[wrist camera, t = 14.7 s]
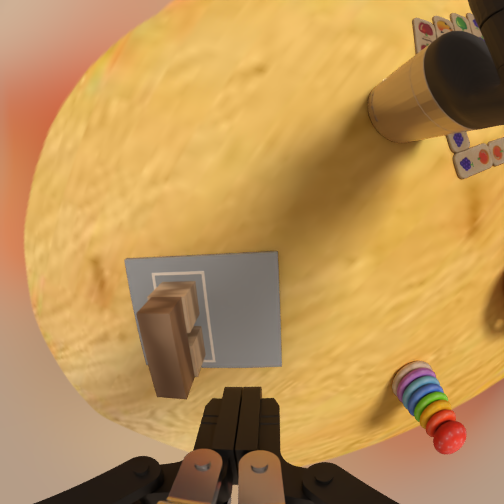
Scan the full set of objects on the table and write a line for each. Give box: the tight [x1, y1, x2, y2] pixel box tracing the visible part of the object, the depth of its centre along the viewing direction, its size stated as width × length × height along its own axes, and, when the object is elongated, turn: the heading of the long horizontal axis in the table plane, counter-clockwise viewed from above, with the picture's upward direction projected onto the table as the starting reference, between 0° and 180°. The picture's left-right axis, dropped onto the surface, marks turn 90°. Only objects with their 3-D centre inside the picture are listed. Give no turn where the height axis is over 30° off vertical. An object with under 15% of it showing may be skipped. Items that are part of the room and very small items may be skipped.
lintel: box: [136, 297, 195, 399], centre depth 36 cm, size 4×12×5 cm, turn 3°
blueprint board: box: [125, 251, 282, 368], centre depth 45 cm, size 22×18×1 cm
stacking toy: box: [392, 361, 466, 454], centre depth 37 cm, size 8×8×19 cm
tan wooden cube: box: [147, 281, 200, 333], centre depth 41 cm, size 5×5×6 cm
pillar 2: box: [187, 326, 206, 377], centre depth 42 cm, size 5×5×6 cm
